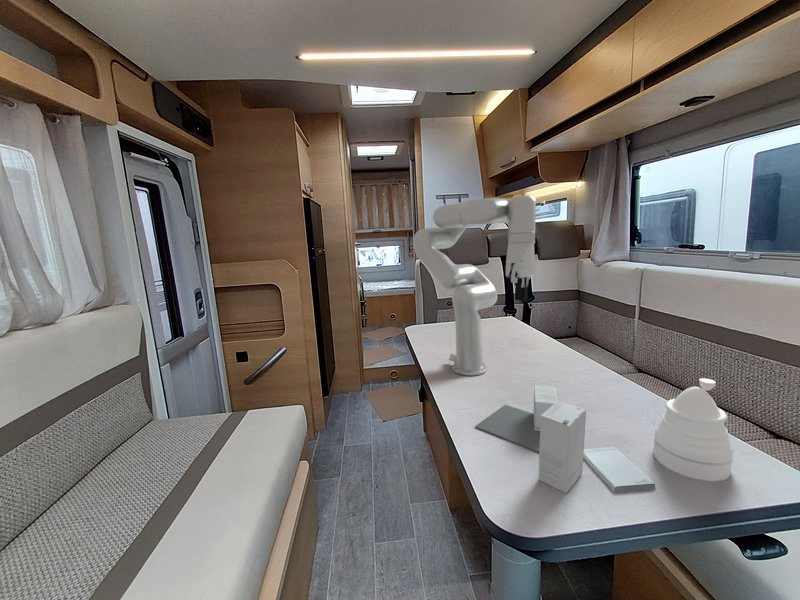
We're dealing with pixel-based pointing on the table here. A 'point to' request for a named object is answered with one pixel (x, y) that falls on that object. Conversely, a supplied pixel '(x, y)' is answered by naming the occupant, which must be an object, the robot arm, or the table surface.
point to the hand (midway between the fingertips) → (521, 299)
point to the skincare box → (561, 445)
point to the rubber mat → (513, 427)
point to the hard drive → (616, 469)
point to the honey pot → (694, 436)
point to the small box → (543, 402)
